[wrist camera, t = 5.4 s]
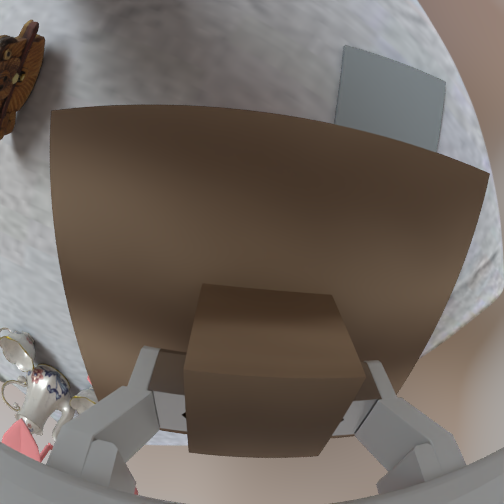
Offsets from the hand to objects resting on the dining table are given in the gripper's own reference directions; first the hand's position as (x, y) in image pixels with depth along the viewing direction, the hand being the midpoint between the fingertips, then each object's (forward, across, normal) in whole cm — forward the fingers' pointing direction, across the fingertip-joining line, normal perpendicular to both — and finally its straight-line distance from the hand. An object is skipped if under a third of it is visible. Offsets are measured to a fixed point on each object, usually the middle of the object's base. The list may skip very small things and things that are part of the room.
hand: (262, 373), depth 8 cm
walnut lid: (+3, 0, 0) cm, 3 cm away
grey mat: (+27, -15, -11) cm, 33 cm away
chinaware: (+27, +34, +40) cm, 59 cm away
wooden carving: (+27, +31, -12) cm, 43 cm away
